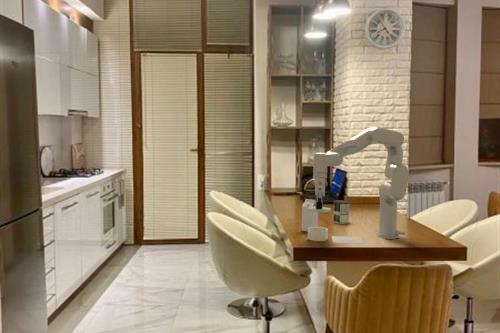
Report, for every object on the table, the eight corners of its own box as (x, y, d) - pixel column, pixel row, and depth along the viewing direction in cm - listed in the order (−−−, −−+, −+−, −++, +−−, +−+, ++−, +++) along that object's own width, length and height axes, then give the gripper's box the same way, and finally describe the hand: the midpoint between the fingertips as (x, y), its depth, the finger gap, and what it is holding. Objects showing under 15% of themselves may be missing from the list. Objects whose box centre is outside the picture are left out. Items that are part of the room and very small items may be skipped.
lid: (330, 208, 276) (330, 200, 276) (331, 212, 264) (332, 203, 263) (306, 208, 278) (307, 199, 277) (307, 211, 265) (307, 202, 264)
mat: (360, 237, 277) (360, 237, 277) (363, 244, 261) (363, 243, 261) (331, 236, 279) (331, 236, 279) (333, 243, 263) (333, 242, 263)
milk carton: (307, 229, 300) (308, 198, 299) (317, 230, 296) (318, 199, 294) (301, 230, 295) (302, 199, 293) (311, 232, 290) (312, 200, 289)
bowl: (327, 237, 277) (327, 227, 276) (328, 242, 266) (328, 231, 265) (307, 237, 278) (307, 226, 277) (307, 241, 267) (308, 230, 267)
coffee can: (331, 223, 321) (332, 201, 320) (334, 220, 330) (335, 199, 329) (347, 224, 317) (348, 202, 316) (349, 221, 327) (350, 200, 326)
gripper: (327, 176, 260) (326, 211, 262) (326, 174, 277) (325, 206, 278) (313, 176, 261) (312, 210, 263) (312, 173, 278) (311, 205, 279)
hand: (318, 208), depth 270 cm, fingers closed on lid, 4 cm apart
